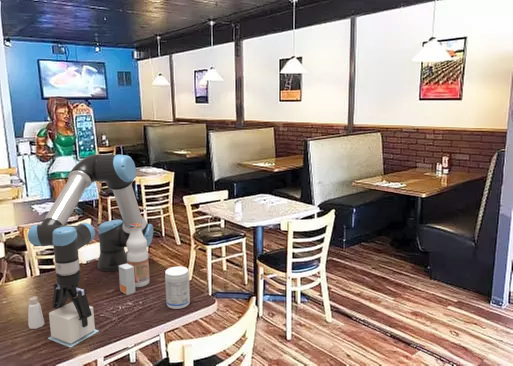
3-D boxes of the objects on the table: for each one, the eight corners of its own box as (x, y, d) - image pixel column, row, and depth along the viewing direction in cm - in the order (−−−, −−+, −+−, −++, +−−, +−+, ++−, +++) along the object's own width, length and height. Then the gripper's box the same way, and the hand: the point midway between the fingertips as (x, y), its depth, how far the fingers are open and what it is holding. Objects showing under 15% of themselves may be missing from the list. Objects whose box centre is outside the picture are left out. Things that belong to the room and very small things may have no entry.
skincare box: (119, 291, 186) (118, 265, 183) (128, 288, 189) (126, 262, 186) (127, 295, 181) (125, 269, 179) (135, 292, 185) (134, 266, 182)
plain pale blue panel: (76, 323, 159) (76, 322, 159) (99, 331, 153) (99, 330, 153) (47, 338, 148) (47, 338, 148) (70, 347, 143) (70, 347, 143)
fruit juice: (124, 287, 190) (120, 226, 185) (134, 278, 199) (130, 221, 194) (144, 288, 188) (140, 227, 183) (153, 280, 197) (150, 222, 192)
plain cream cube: (75, 323, 157) (73, 301, 156) (94, 329, 152) (93, 307, 151) (51, 336, 148) (48, 312, 147) (70, 343, 143) (68, 319, 142)
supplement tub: (169, 299, 178) (167, 265, 175) (191, 299, 178) (190, 265, 175) (164, 310, 168) (162, 275, 166) (187, 309, 168) (186, 275, 166)
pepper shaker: (27, 330, 154) (24, 302, 152) (28, 323, 159) (25, 296, 157) (44, 327, 156) (41, 299, 154) (45, 320, 161) (42, 293, 159)
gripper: (37, 269, 148) (43, 327, 152) (81, 281, 138) (86, 344, 142) (56, 262, 155) (61, 318, 159) (99, 273, 144) (104, 333, 148)
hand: (73, 330), depth 150 cm, fingers closed on plain cream cube, 10 cm apart
